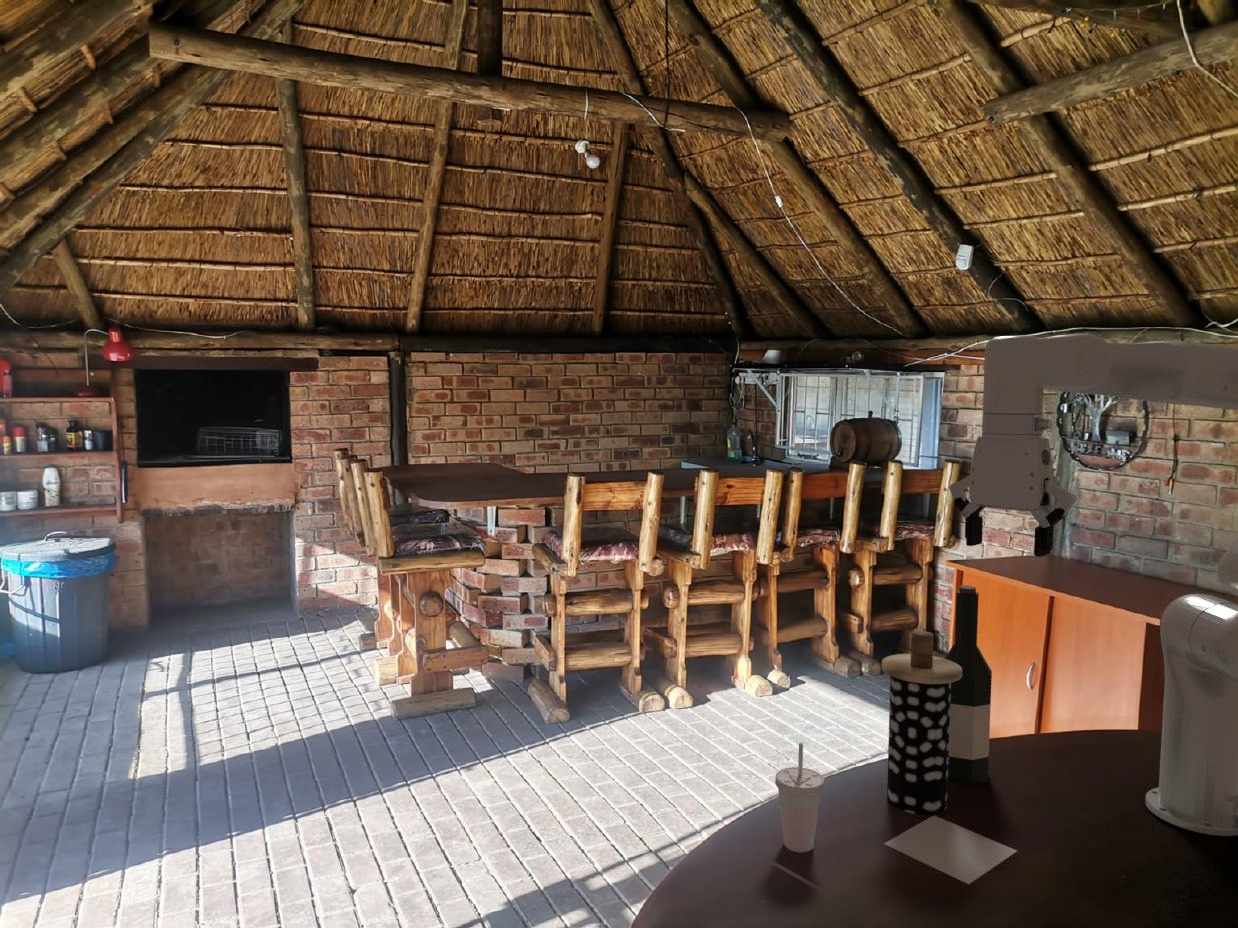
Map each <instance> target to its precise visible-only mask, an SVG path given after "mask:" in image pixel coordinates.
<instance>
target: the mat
mask: <svg viewBox="0 0 1238 928" xmlns="http://www.w3.org/2000/svg"><path fill="white" fill-rule="evenodd" d="M883 845H885V846H887V847H889V848H892V849H893V850H896V851H898V852H900V853H902V854H904V855H906V856H908V857H910V858H913V859H915V860H917V861H919V862H920V863H921V862H922V863H923V864H925V865H927V866H929V867H931V868H934V869H936V870H938V871H940V872H941V873H944V874H946V875H947V876H950V877H952V878H954V879H956V880H959V881H961V882H963V883H965V884H967V885H970V884H971V883H973V882H975V881H976V880H977V879H979V878H980V877H982V876H983V875H985V874H987V873H988V872H989V871H990V870H992V869H994V868H995V867H996V866H998V865H999V864H1001V863H1002V862H1004V861H1005V860H1007V859H1008V858H1009V857H1011V856H1013V855H1014V854H1015V853H1018V850H1017V849H1014V848H1013V847H1009V846H1007V845H1005V844H1002V843H1000V842H997V841H995V840H993V839H990V838H988V837H986V836H983V835H981V834H978V833H976V832H974V831H973V830H969V829H967V828H965V827H962V826H960V825H958V824H956V823H953V822H951V821H948V820H945V819H944V818H941V817H939V816H937V815H933V816H931V817H928V818H927V819H925V820H924V821H921V822H920V823H918V824H916V825H915V826H913V827H910V828H908V829H907V830H905V831H903V832H901V833H900V834H898V835H897V836H895V837H893V838H891V839H889V840H888V841H886V842H884V843H883Z"/></svg>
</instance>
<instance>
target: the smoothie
mask: <svg viewBox="0 0 1238 928" xmlns="http://www.w3.org/2000/svg"><path fill="white" fill-rule="evenodd" d="M803 757H804V743H803V742H799V743H798V763H797V764H798V766H789V767H785V768H783V769H780V770H778V771H777V772H776V774H775V780H774V784H775V786H776V787H777V791H778V798H779V800H778V801H779V809H780V810H779V811H780V816H781V818H780V819H781V826H782V837H783V845H784V847H785V848H787V849H788V850H789V851H791V852H796V853H807V852H811V851H812V850H813V848H814V845H815V844H814V842H815V837H816V830H817V829H816V828H817V824H818V823H817V822H818V817H819V816H818V815H819V810H820V803H821V796H822V792H823V791H824V789H825V778H824V776H823V775H822V774H820V773H819V772H818V771H816V770H814V769H810V768H807V767H803V765H804V764H803V762H804V758H803Z"/></svg>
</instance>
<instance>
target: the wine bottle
mask: <svg viewBox="0 0 1238 928" xmlns="http://www.w3.org/2000/svg"><path fill="white" fill-rule="evenodd" d="M955 594H956V596H955V627H954V630H955V631H954V644H953V645H952V647H951V648H950V649H949V650H948V652H947V654H946V655H945V656H944V657H943V658H944V659H947V660H950V661H952V662H955V663H957V664H958V665H959V666H961V668H962V678H961V679H960V680H958V681H956V682H952V683H951V702H950V732H949V762H948V781H951V782H957V783H963V784H969V785H973V784H974V785H975V784H981V785H983V784H987V782H988V783H989V758H990V757H989V755H990V754H989V753H990V733H991V732H990V729H991V727H990V726H991V706H992V704H991V703H992V702H991V701H992V699H991V698H992V679H993V678H992V675H993V672H992V669H991V668H990V666H989V664H988V662H987V660H986V658H985V657H984V656H983V654H982V652H981V650H980V648H979V646H978V626H979V625H978V622H979V621H978V620H979V619H978V618H979V594H980V593H979V592H978V591H977V587H976V586H973V585H959V590H956V593H955Z"/></svg>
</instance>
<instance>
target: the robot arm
mask: <svg viewBox="0 0 1238 928" xmlns="http://www.w3.org/2000/svg"><path fill="white" fill-rule="evenodd" d="M984 349H985V350H984V360H983V361H984V362H983V363H984V365H983V367H984V368H983V391H982V393H983V394H982V395H983V396H982V419H981V420H982V421H981V423H982V425H981V426H982V427H981V435H978V436H977V438H976V440H975V445H974V449H973V454H972V457H971V466H970V471H969V472H970V473H969V475H970V476H966V477H965V478H964V477H963V478H962V479H960V480H958V481H957V482H954V483H951V484H950V485H949V487H948V488H949V492H950V494H951V496H952V499H954V500H953V502H954V505H955V506H956V507H957V508H958V509H959V511H960V512H961V516H962V517H963V518H965V519H964V522H965V523H964V538H965V539H966V540H965V543H966V544H965V545H966V547H975V546H979V545H981V544H982V543H983V528H984V527H983V526H984V524H983V522H984V518H983V516H981V515H980V514H981V512H983V511H984V510H985V508H992V509H1001V510H1009V511H1010V510H1011V511H1016V512H1017V511H1020V512H1029V513H1030V514H1031V515H1032V516H1033V518H1034V519H1035V521H1036V522H1037V524H1038V526H1036V527H1035V528H1034V539H1033V540H1034V542H1033V544H1034V545H1033V555H1034V556H1035V557H1039V558H1040V557H1044V556H1049V555H1050V553H1051V551H1052V549H1053V547H1054V546H1053V545H1054V527H1055V526H1057V525H1058V523H1059V522H1060V521H1061V520H1063V519H1064V518H1066V517H1067V515H1068V514H1069V511H1070V510H1071V509H1072V507H1073V505H1074V504H1075V502H1076V500H1077V497H1076V496H1075V494H1073V493H1071V492H1070V491H1068V490H1066V489H1065V488H1063V487H1061V486H1059V485H1058V484H1057V483H1055V482H1054V469H1053V468H1054V467H1053V456H1052V451H1051V444H1050V440H1049V437H1042V436H1043V434H1044V431H1045V430H1052V429H1053V421H1052V420H1051V419H1047V418H1045V414H1043V413H1044V395H1045V391H1046V390H1047V391H1055V392H1056V391H1057V392H1065V393H1076V394H1077V393H1078V394H1088V395H1098V396H1109V397H1119V398H1124V399H1131V400H1136V401H1143V402H1150V403H1162V404H1172V405H1180V406H1181V405H1182V406H1191V407H1192V406H1193V407H1204V408H1212V409H1222V410H1223V409H1225V410H1233V411H1238V346H1229V345H1220V344H1210V343H1203V342H1195V341H1194V342H1192V341H1181V340H1180V341H1179V340H1162V341H1161V340H1159V341H1145V342H1129V343H1128V342H1127V343H1121V342H1120V343H1119V342H1118V343H1115V342H1113V343H1112V342H1107V341H1106V340H1105V339H1104V338H1102V337H1100V336H1098V335H1094V334H1090V333H1073V334H1062V335H1061V334H1060V335H1054V336H1047V337H1038V336H1034V335H1003V336H995V337H993V338H990V339H989V340H988V341H987V343H986V344H985V348H984ZM1044 390H1045V391H1044ZM967 488H968V491H969V492H968V495H969V499H968V497H966V495H965V489H967ZM1054 498H1055V499H1057V500H1058V504H1057V507H1056V508H1054V510H1051V509H1050V508H1051V507H1052V506H1053V504H1054ZM1216 571H1217V572H1216V575H1217V576H1216V577H1217V579H1218V582H1220V584H1221V586H1222V587H1223V588H1224V589H1226V590H1227V591H1228V592H1229V593H1230V594H1232V595H1234V596H1236V597H1238V536H1237V537H1236V539H1235V540H1234V541H1233V543H1231V545H1230V546H1229V547H1228V549H1227V550H1226V551H1225V553H1224V554H1223V555H1222V557H1221V559H1220V560H1219V562H1218V565H1217V570H1216ZM1159 630H1160V631H1159V633H1160V634H1159V635H1160V642H1161V649H1162V654H1163V655H1162V656H1163V666H1164V667H1163V668H1164V687H1163V688H1164V691H1163V692H1164V693H1163V707H1162V708H1163V709H1162V726H1161V742H1160V744H1161V745H1160V759H1159V779H1158V781H1159V782H1158V787H1154V788H1152V789H1150V790H1149V791H1148V792H1146V794H1145V805H1146V808H1147V809H1148V810H1149V811H1150V812H1151V813H1152V814H1153V815H1155V816H1156V817H1158V818H1159V819H1161V820H1162V821H1165V822H1166V823H1169V824H1172V825H1173V826H1175V827H1176V826H1177V827H1179V828H1182V829H1185V830H1188V831H1191V832H1195V833H1199V834H1204V835H1209V836H1220V837H1234V836H1238V604H1237V603H1235V602H1232V601H1230V600H1227V599H1224V598H1221V597H1217V596H1215V595H1210V594H1206V593H1205V594H1204V593H1190V594H1184V595H1182V596H1179V597H1178V598H1176V599H1174V600H1173V601H1172V602H1170V603H1169V604H1168V605H1167V606H1166V608H1165V609H1164V612H1163V613H1162V616H1161V621H1160V627H1159Z"/></svg>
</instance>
